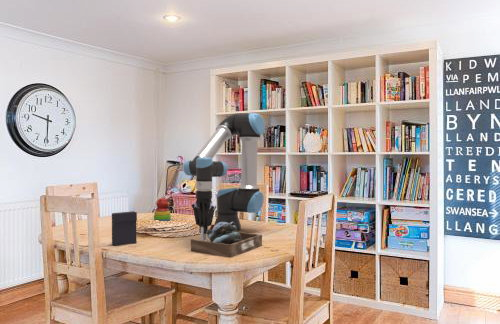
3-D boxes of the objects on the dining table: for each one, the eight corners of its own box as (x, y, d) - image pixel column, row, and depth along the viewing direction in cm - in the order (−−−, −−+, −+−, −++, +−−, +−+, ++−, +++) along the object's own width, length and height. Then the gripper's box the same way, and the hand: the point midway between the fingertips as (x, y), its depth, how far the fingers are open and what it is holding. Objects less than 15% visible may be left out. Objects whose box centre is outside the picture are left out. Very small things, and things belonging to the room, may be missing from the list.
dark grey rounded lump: (210, 251, 193) (202, 221, 198) (213, 256, 204) (205, 228, 209) (243, 241, 194) (234, 212, 199) (244, 246, 205) (236, 218, 210)
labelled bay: (224, 240, 216) (224, 230, 216) (262, 245, 205) (262, 234, 205) (190, 251, 194) (190, 239, 194) (231, 257, 183) (231, 245, 183)
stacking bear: (167, 231, 240) (167, 199, 239) (150, 231, 242) (150, 198, 241) (175, 228, 250) (174, 197, 250) (158, 227, 252) (158, 196, 252)
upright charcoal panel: (133, 241, 213) (133, 211, 213) (137, 243, 210) (136, 212, 209) (111, 244, 206) (111, 212, 206) (114, 246, 203) (114, 214, 203)
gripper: (188, 190, 206) (187, 240, 206) (210, 191, 199) (209, 243, 199) (198, 189, 212) (197, 237, 213) (220, 190, 205) (219, 240, 206)
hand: (203, 240), depth 206 cm, fingers closed
